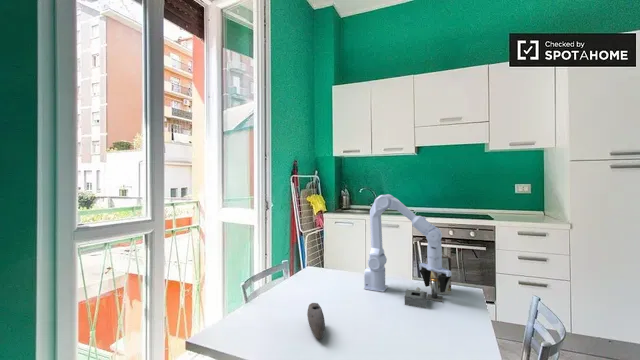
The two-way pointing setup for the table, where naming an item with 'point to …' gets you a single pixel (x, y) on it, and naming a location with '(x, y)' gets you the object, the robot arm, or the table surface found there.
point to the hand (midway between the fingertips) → (434, 288)
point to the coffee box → (445, 264)
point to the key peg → (434, 288)
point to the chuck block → (416, 298)
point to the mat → (439, 299)
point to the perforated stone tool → (316, 320)
